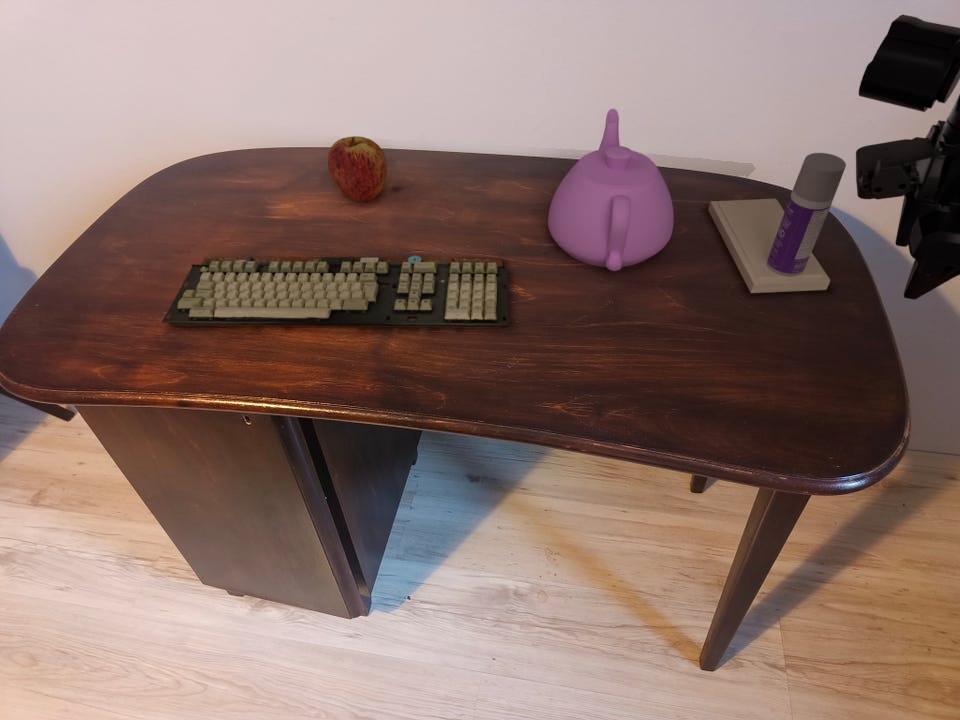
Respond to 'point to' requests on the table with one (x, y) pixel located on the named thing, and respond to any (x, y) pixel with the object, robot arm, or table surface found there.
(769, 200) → the tile
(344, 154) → the apple
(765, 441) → the table surface
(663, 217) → the teapot
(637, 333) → the table surface
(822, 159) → the container
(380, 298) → the keyboard
